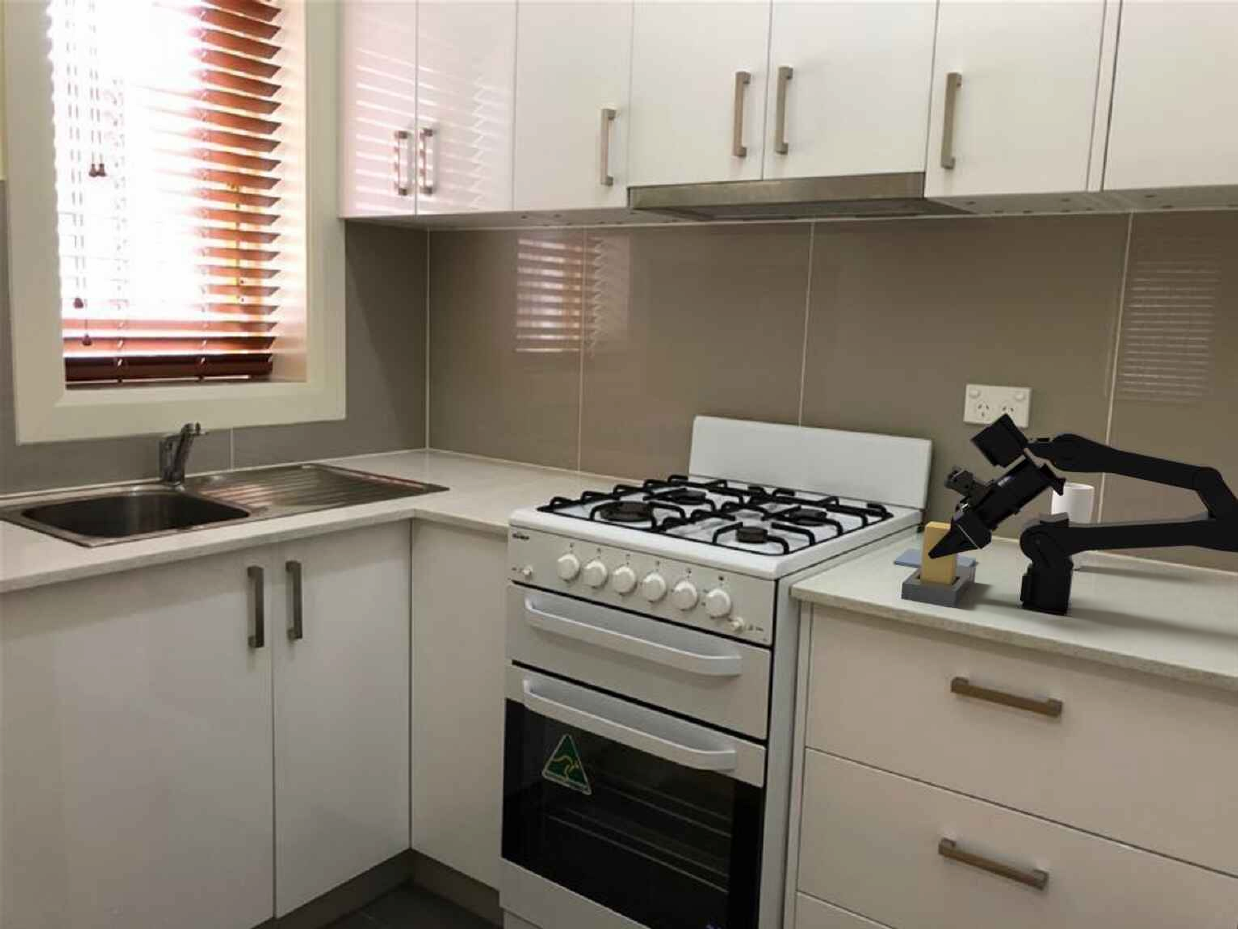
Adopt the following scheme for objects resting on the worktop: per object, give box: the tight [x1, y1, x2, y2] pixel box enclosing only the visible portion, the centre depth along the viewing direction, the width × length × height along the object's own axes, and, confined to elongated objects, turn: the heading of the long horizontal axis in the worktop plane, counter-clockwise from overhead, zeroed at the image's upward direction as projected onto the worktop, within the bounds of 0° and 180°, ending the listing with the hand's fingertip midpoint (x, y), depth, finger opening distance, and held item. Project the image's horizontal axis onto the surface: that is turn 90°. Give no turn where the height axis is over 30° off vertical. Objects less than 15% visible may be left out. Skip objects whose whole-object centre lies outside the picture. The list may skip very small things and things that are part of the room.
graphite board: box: [900, 565, 977, 608], centre depth 160 cm, size 8×18×2 cm, turn 151°
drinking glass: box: [1050, 482, 1096, 571], centre depth 179 cm, size 7×7×15 cm
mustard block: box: [920, 521, 959, 585], centre depth 157 cm, size 5×5×11 cm
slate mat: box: [892, 548, 976, 569], centre depth 179 cm, size 12×12×1 cm
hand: (931, 550), depth 158 cm, fingers open, 8 cm apart
